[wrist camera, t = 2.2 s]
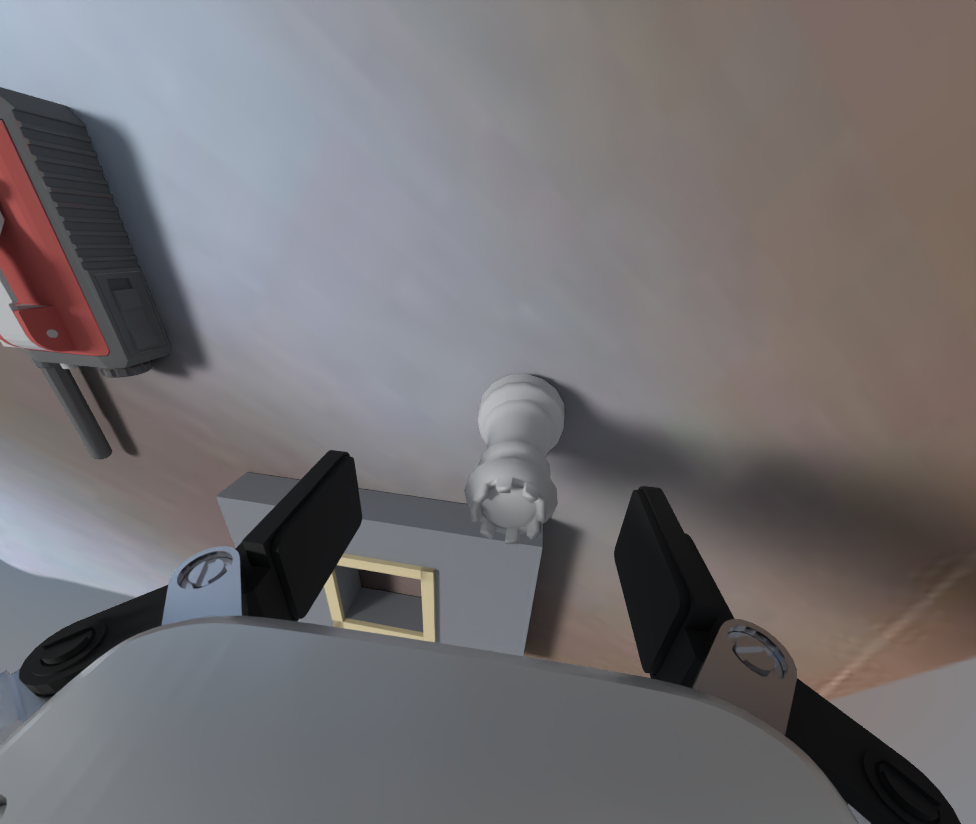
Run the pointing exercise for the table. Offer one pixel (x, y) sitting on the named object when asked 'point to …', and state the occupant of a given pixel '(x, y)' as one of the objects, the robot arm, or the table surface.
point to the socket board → (413, 568)
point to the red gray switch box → (67, 260)
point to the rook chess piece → (516, 457)
